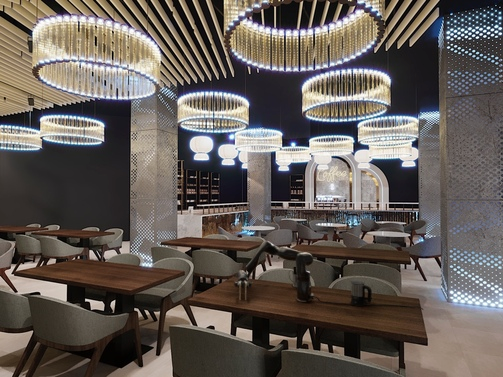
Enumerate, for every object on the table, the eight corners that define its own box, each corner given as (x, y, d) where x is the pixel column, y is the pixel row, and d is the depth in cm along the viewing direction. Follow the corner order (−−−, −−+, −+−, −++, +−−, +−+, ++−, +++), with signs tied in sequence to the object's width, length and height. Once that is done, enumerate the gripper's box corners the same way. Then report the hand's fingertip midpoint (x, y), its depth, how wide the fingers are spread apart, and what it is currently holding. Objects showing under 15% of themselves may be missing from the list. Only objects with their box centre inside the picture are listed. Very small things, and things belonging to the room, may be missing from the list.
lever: (239, 286, 241) (239, 283, 241) (246, 286, 241) (246, 283, 241) (239, 286, 229) (239, 283, 230) (246, 286, 229) (246, 283, 230)
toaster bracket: (237, 298, 235) (237, 280, 236) (248, 298, 236) (248, 280, 236) (236, 303, 225) (237, 284, 226) (248, 303, 226) (248, 284, 226)
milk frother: (350, 305, 223) (350, 283, 224) (351, 298, 238) (351, 277, 238) (372, 307, 218) (372, 285, 219) (372, 300, 233) (372, 279, 234)
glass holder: (305, 286, 269) (305, 267, 270) (292, 288, 261) (292, 269, 262) (298, 283, 277) (298, 265, 277) (285, 286, 269) (285, 267, 269)
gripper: (233, 275, 255) (233, 281, 238) (252, 276, 255) (252, 281, 238) (233, 285, 254) (232, 291, 237) (252, 285, 255) (252, 291, 238)
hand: (242, 286), depth 238 cm, fingers closed on lever, 5 cm apart
